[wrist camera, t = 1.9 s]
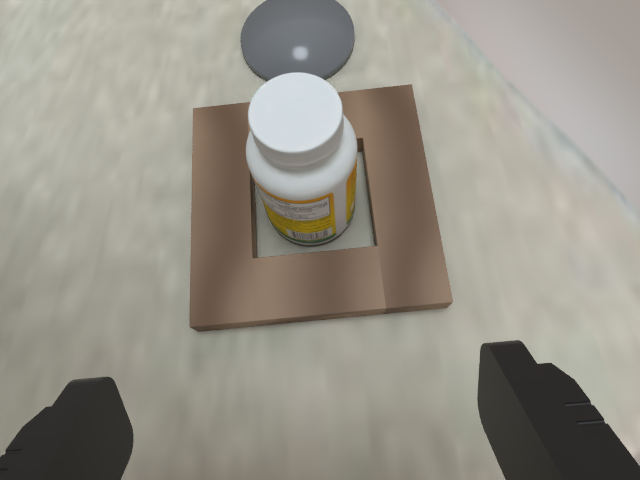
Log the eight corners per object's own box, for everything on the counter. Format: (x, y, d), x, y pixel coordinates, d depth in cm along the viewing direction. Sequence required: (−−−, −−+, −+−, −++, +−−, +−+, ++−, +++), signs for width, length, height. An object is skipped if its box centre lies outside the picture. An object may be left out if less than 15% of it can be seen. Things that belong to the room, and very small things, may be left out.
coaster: (243, 92, 31) (241, 87, 30) (241, 5, 34) (239, -2, 33) (360, 80, 31) (360, 73, 30) (347, -8, 33) (347, -15, 33)
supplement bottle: (308, 265, 26) (286, 193, 17) (251, 205, 28) (204, 110, 19) (374, 207, 27) (386, 110, 18) (315, 152, 29) (299, 38, 20)
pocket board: (198, 331, 25) (189, 327, 24) (200, 122, 30) (193, 108, 29) (447, 307, 25) (452, 301, 24) (408, 99, 30) (411, 84, 28)
